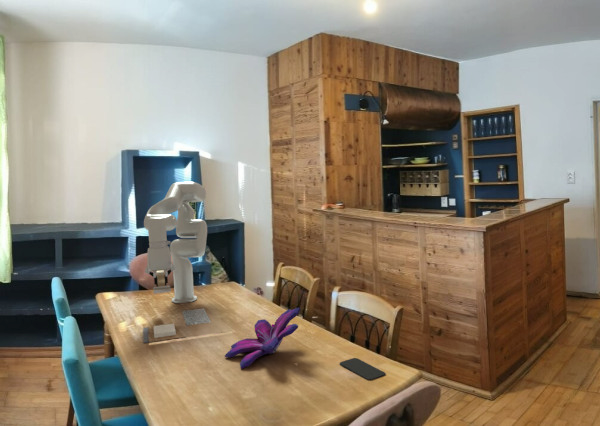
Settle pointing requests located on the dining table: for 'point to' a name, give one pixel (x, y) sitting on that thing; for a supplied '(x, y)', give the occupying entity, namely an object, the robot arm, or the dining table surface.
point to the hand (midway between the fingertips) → (161, 285)
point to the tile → (164, 330)
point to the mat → (146, 336)
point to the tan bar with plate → (161, 283)
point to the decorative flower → (265, 338)
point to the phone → (362, 369)
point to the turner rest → (195, 316)
